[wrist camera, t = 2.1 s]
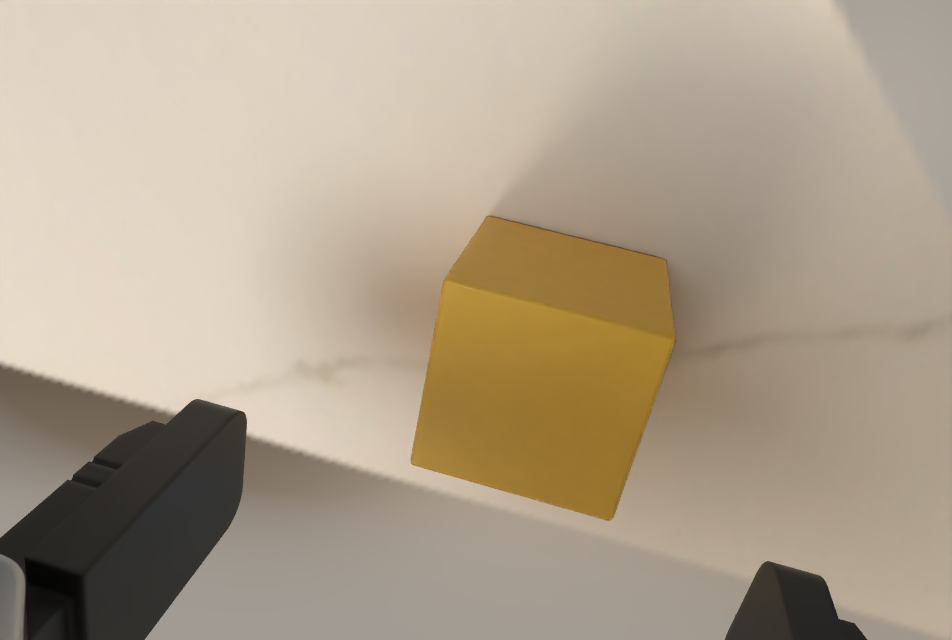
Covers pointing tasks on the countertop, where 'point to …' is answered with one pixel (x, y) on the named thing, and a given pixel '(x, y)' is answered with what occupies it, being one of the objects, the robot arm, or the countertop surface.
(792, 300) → the countertop surface
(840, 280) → the countertop surface
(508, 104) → the countertop surface
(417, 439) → the block
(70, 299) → the countertop surface
